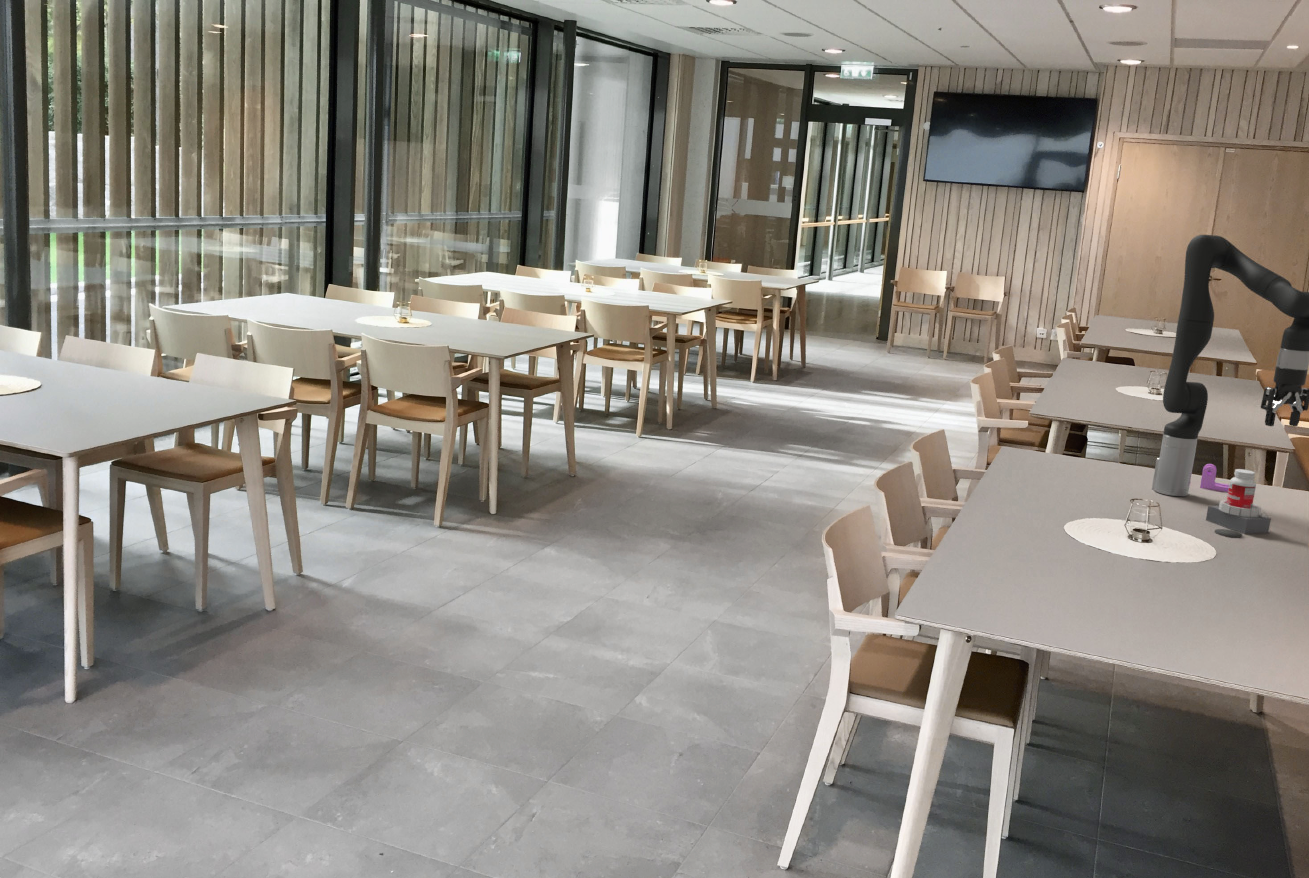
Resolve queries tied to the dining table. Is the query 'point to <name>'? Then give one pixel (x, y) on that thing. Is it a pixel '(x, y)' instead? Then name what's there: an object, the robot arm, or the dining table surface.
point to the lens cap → (1228, 533)
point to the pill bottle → (1242, 489)
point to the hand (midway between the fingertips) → (1281, 425)
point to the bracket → (1211, 479)
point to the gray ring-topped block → (1239, 518)
